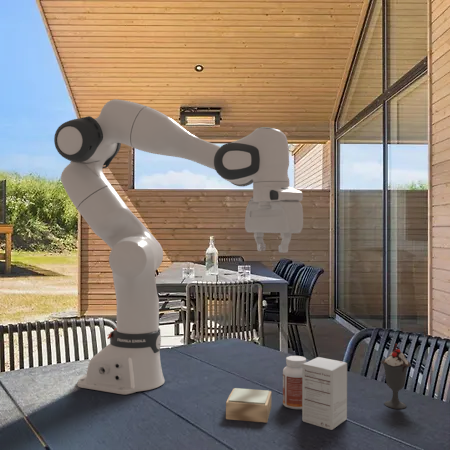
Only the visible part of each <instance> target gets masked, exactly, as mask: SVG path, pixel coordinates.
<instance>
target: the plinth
mask: <svg viewBox="0 0 450 450" xmlns="http://www.w3.org/2000/svg"><path fill="white" fill-rule="evenodd" d="M272 393H273V392H272V390H263V389H253V388H252V389H251V388H239V387H235V388H232V391H231V392H230V394H229V395H228V398H227V400H226V402H225V419H226V420H232V421H233V420H234V421H244V422H255V423H266V424H268V421H269V417H270V413H271V410H272Z"/></svg>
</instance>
